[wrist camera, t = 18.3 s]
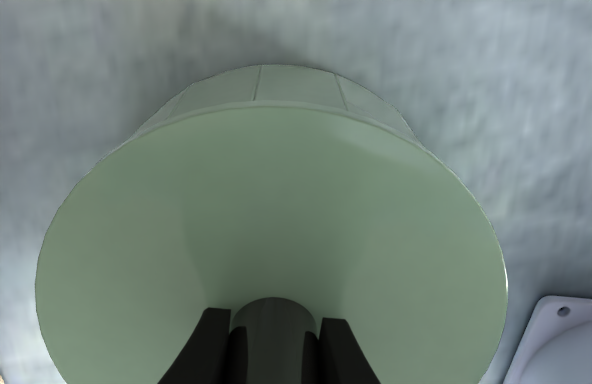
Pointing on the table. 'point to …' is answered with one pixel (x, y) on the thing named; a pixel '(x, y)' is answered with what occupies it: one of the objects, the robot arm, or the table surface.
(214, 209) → the lid
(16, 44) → the table surface
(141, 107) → the table surface
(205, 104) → the pot
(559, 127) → the table surface
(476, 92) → the table surface
